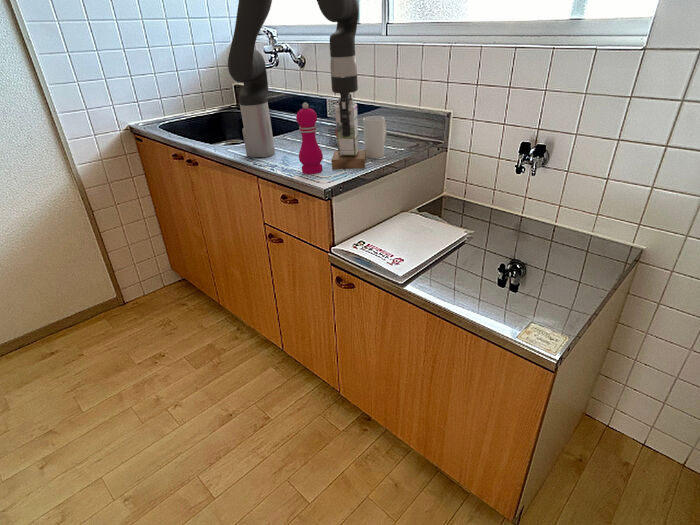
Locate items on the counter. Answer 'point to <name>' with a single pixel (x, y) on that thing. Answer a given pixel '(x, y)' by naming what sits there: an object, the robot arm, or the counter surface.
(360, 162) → the walnut base
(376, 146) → the mug
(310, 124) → the pepper mill
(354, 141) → the syrup box
